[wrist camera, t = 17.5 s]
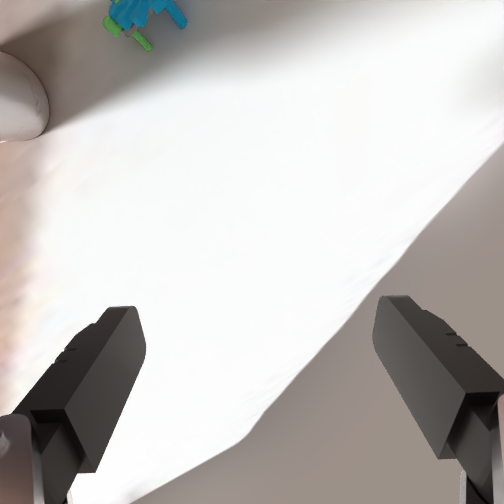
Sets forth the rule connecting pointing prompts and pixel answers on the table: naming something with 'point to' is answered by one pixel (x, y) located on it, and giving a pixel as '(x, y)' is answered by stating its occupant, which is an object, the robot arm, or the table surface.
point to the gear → (138, 17)
